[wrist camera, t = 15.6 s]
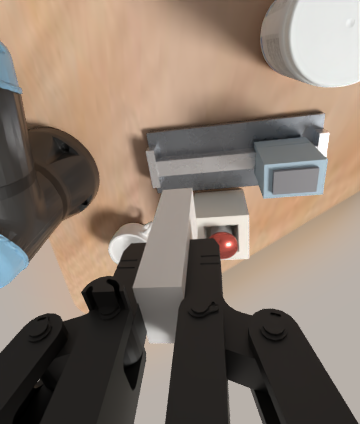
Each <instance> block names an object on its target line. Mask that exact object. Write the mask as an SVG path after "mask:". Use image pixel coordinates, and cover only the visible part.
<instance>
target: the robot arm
mask: <svg viewBox="0 0 360 424" xmlns="http://www.w3.org/2000/svg"><path fill="white" fill-rule="evenodd" d="M21 94H23V93H22V89H21V88H20V87H19V84H18V81H17V77H16V73H15V69H14V65H13V61H12V57H11V54H10V52H9V50H8V49H7V47H6V46H5V45H4V44H3V43H2V42H1V41H0V288H2V287H4V286H5V285H7V284H9V283H10V282H11V281H12V280H13V279H14V278H15V277H16V276H17V275H18V274H19V273H20V272H21V271H22V270H24V269H25V268H26V267H27V266H28V263H29V261H30V260H31V259H32V258H33V257H34V255H35V254H36V253H37V252H38V250H39V249H40V248H41V246H42V245H43V244H44V243H45V241H46V240H47V239H48V238H49V236H50V235H51V234H52V233H53V231H54V230H55V229H56V228H57V227H58V225H59V224H60V223H61V222H62V221H63V220H65V219H67V218H69V217H72V216H74V215H76V214H78V213H80V212H81V211H83V210H84V209H85V208H87V207H88V206H89V204H90V203H91V202H92V200H93V199H94V197H95V196H96V194H97V192H98V188H99V172H98V168H97V166H96V163H95V161H94V159H93V157H92V156H91V154H90V153H89V151H88V150H87V149H86V148H85V147H84V146H83V145H82V144H81V143H80V142H79V141H78V140H77V139H75V138H74V137H72V136H71V135H69V134H67V133H65V132H63V131H60V130H57V129H53V128H47V127H39V128H33V129H30V130H27V124H26V119H25V113H24V108H23V102H22V97H21ZM197 236H198V231H197V222H196V214H195V206H194V198H193V189H192V188H182V189H169V190H163V191H162V194H161V197H160V201H159V204H158V207H157V210H156V213H155V217H154V220H153V223H152V226H151V230H150V233H149V236H148V239H147V242H146V243H131V244H130V245H129V246H128V247H127V248H126V249H125V250H124V251H123V254H122V256H121V259H120V262H119V264H118V266H117V269H116V271H115V273H114V276H106V277H100V278H98V279H96V280H94V281H92V282H91V283H89V284H88V285H87V286H86V287H85V288H84V289H83V291H82V292H81V293H82V295H83V297H84V300H85V302H86V304H87V306H88V309H89V313H88V314H85V315H83V316H80V317H77V318H73V319H70V320H67V321H62V319H61V317H60V316H58V315H56V314H49V313H47V314H44V315H41V316H38V317H36V318H35V319H34V320H31V321H30V322H29V323H28V324H27V325H25V326H24V327H23V329H22V330H21V331H20V332H19V333H18V334H17V335H16V336H15V337H14V339H13V340H12V341H11V342H10V343H9V344H8V345H7V346H6V347H5V349H4V350H3V351H2V352H1V353H0V424H134V419H135V414H136V408H137V404H138V398H139V393H140V388H141V383H142V378H143V373H144V367H145V362H146V351H145V348H144V344H145V339H146V334H147V337H148V341H149V343H174V352H173V360H172V369H171V378H170V386H169V395H168V404H167V412H166V421H165V424H230V412H229V394H228V380H231V381H233V382H236V383H238V384H241V385H244V386H246V387H249V388H250V389H251V392H252V394H253V397H254V400H255V403H256V406H257V409H258V412H259V415H260V417H261V420H262V423H263V424H358V422H357V420H356V419H355V417H354V416H353V414H352V412H351V411H350V409H349V407H348V406H347V404H346V403H345V401H344V399H343V398H342V396H341V394H340V393H339V391H338V389H337V388H336V386H335V385H334V383H333V381H332V380H331V378H330V376H329V375H328V373H327V372H326V370H325V368H324V367H323V365H322V363H321V362H320V360H319V358H318V357H317V355H316V353H315V352H314V350H313V349H312V347H311V345H310V344H309V342H308V340H307V339H306V337H305V335H304V334H303V332H302V331H301V329H300V327H299V326H298V324H297V323H296V322H295V320H294V319H293V318H292V317H291V316H289V315H288V314H286V313H284V312H283V311H280V310H276V309H262V310H260V311H258V312H256V313H255V314H253V316H252V315H248V314H245V313H241V312H239V311H236V310H234V309H233V308H231V307H230V306H229V305H228V304H227V303H226V302H225V301H224V298H223V292H222V273H221V260H220V246H219V244H218V243H217V242H216V240H215V239H214V238H206V239H197ZM39 379H40V380H39ZM38 380H39V381H38Z"/></svg>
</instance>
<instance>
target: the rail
mask: <svg viewBox="0 0 360 424" xmlns="http://www.w3.org/2000/svg"><path fill="white" fill-rule="evenodd" d="M324 118H325V113H323V112H320V113H311V114H302V115H293V116H284V117H275V118H266V119H257V120H248V121H239V122H230V123H221V124H212V125H204V126H195V127H186V128H177V129H168V130H159V131H150V132H147V133H146V134H147V139H148V145H149V146H148V148H147V150H146V156H147V161H148V166H149V171H150V176H151V181H152V186H153V188H157V191H158V193H162V191H163V190H169V189H182V188H192V189H193V190H205V189H218V188H231V187H243V186H256V185H259V184H258V181H257V179H256V176H255V173H254V168H256V151H255V148H254V142H259V141H269V140H279V139H289V138H299V137H306V138H307V139H308V140H309V141H310V142H311V143H312V144H313V145H314V146H315V147H316V148H317V149H318V150H319V151H320V152H321V153H322V154H323V155H324V156H325V157H326V154H327V147H328V140H329V132H328V131H327V130H325V129H324V128H323V126H324Z"/></svg>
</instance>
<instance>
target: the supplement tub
mask: <svg viewBox="0 0 360 424" xmlns="http://www.w3.org/2000/svg"><path fill="white" fill-rule="evenodd" d="M260 44H261V50H262V54H263V56H264V59H265V61H266V62H267V63H268V65H269V66H270V67H271V68H272V69H273V70H274V71H276V72H277V73H279V74H282V75H284V76H287V77H290V78H293V79H296V80H298V81H301V82H304V83H307V84H310V85H314V86H318V87H343V86H347V85H351V84H354V83H357V82H359V81H360V0H275V1H274V2H273V3H272V5H271V6H270V8H269V9H268V11H267V13H266V15H265V17H264V20H263V23H262V27H261V33H260Z"/></svg>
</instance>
